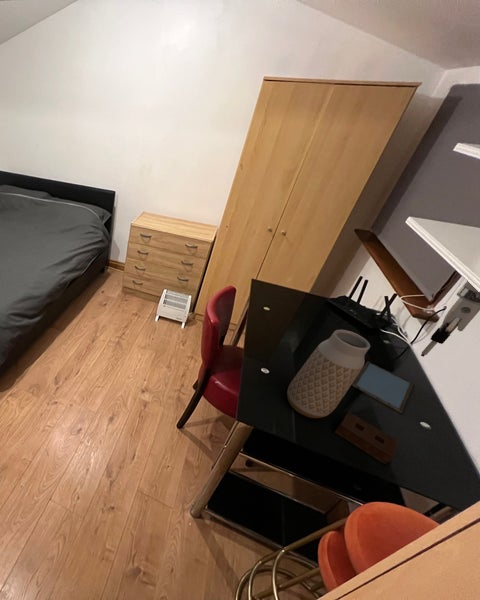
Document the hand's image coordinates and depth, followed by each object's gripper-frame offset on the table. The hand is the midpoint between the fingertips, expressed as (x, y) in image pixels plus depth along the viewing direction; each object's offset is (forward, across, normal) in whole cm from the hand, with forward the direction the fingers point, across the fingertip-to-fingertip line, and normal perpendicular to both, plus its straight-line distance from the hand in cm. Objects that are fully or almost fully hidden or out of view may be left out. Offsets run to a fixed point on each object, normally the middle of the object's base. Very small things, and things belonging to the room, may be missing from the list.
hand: (436, 340), depth 111 cm
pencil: (+7, 0, 0) cm, 7 cm away
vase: (+24, -41, +18) cm, 51 cm away
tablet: (+23, -4, +4) cm, 24 cm away
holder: (+24, -40, +1) cm, 46 cm away
